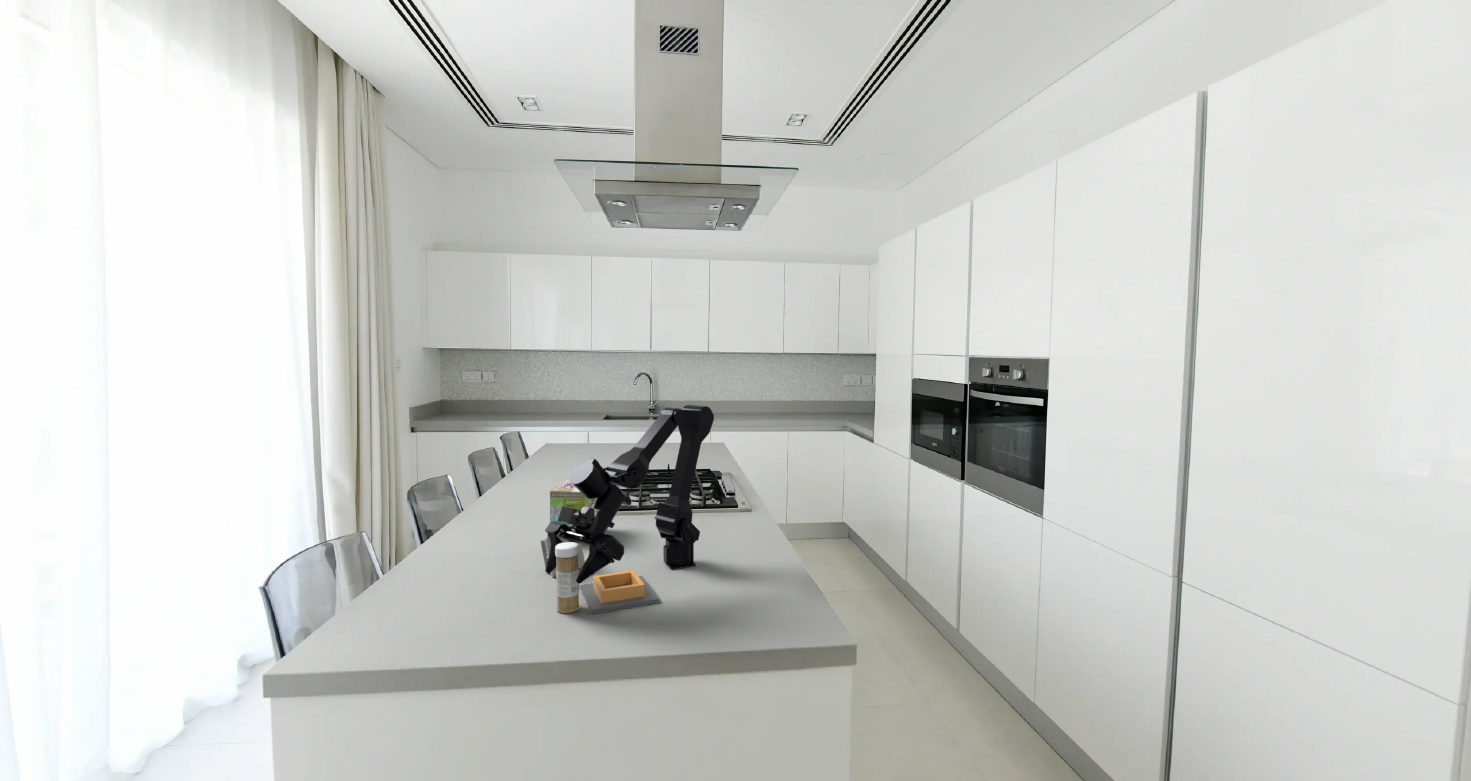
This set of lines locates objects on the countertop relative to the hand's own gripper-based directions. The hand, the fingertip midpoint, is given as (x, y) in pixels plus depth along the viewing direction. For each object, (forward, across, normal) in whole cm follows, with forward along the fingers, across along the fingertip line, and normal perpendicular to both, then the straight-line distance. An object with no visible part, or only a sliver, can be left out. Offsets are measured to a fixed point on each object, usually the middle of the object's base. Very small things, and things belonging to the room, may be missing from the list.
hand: (562, 577), depth 126 cm
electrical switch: (-6, -18, +16) cm, 25 cm away
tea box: (-19, -36, +30) cm, 50 cm away
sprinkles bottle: (+4, 0, +6) cm, 7 cm away
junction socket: (-4, +3, +14) cm, 15 cm away
